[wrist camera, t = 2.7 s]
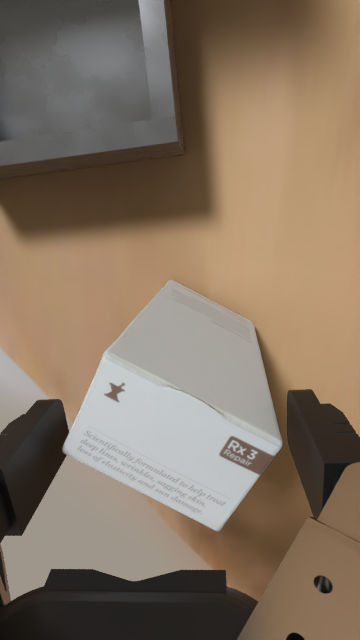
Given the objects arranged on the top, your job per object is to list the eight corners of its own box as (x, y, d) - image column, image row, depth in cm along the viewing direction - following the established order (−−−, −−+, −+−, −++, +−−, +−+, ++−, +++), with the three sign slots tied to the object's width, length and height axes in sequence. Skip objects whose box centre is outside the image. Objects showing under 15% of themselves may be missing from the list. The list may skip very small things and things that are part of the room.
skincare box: (143, 333, 22) (45, 459, 11) (172, 273, 21) (92, 347, 10) (226, 376, 22) (213, 547, 11) (261, 319, 21) (288, 449, 10)
